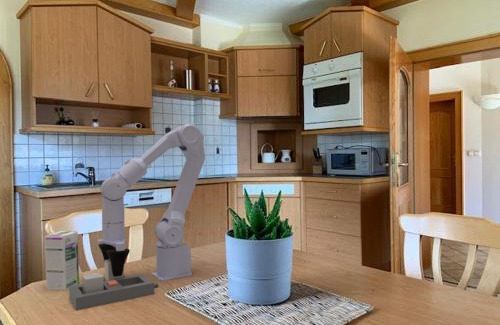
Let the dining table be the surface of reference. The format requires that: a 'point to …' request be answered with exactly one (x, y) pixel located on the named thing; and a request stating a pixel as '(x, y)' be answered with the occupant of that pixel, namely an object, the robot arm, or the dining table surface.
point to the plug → (110, 271)
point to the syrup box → (62, 260)
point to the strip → (109, 290)
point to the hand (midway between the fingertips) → (113, 272)
